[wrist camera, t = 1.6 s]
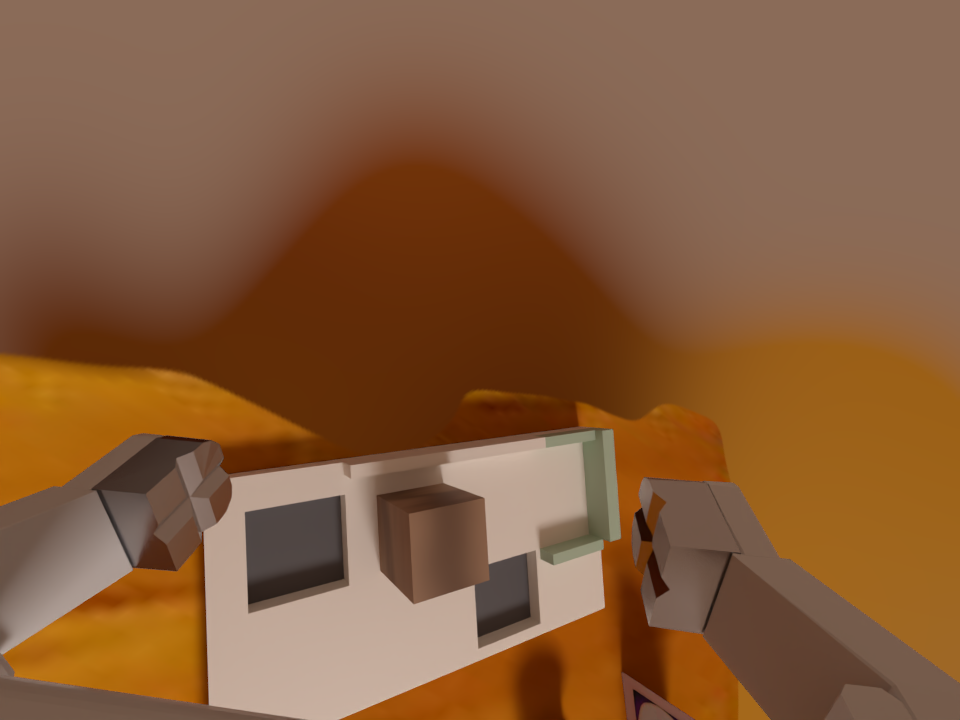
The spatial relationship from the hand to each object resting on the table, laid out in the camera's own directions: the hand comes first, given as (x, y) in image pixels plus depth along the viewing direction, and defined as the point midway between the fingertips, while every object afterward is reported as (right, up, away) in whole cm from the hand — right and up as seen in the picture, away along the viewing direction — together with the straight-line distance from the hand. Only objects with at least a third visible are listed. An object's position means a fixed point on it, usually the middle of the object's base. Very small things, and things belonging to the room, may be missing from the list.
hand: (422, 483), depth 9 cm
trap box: (-3, -15, +33) cm, 36 cm away
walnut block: (-5, -11, +30) cm, 32 cm away
